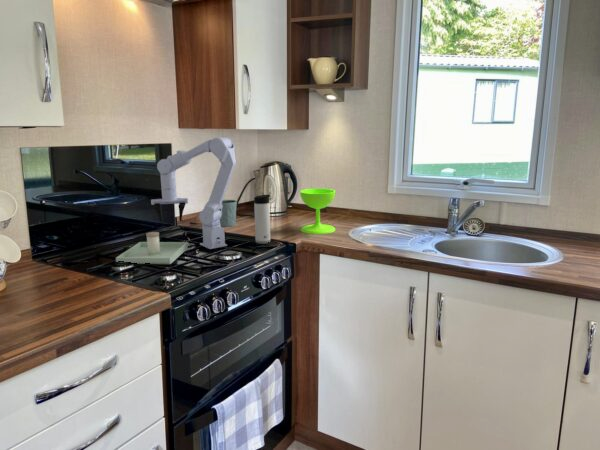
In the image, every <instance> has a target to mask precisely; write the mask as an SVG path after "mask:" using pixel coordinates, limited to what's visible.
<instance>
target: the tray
mask: <svg viewBox="0 0 600 450" xmlns="http://www.w3.org/2000/svg"><path fill="white" fill-rule="evenodd" d="M159 242H160V254H158V255H149V254H148V244H147V241H139V242H137V243H136V244H135V245H133V246H131V247H130V248H128V249H126V251H123V252H122V253H121V254H119V255H118V256H116V257H115V263H116V262H118V261H124V262H131V263H137V264H136V265H145V263H150V264H149V265H172V263H174V261H176V260H177V259H178V258H179V257H180V256H181V255H182V254H183V253H184V252H186V251H187V250H188V249H187V247H188V246H189V242H187V241H186V242H185V241H182V242H181V241H166V242H165V241H159ZM186 249H187V250H186Z"/></svg>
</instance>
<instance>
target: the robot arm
mask: <svg viewBox="0 0 600 450" xmlns="http://www.w3.org/2000/svg"><path fill="white" fill-rule="evenodd" d="M235 148H236V147H235V144H234V143H233V141H232V139H231V138H229V137H227V136H222V137H214V138H212V139H209V140H206V141H204V142H202V143H200V144H198V145H196V146H195V147H193V148H191V149H189V150H188V151H186V150H183V149H182V150H181V149H180V150H179V149H178V150H177V151H176V153H174V154H172V155H168V156H167V158H161V159H160V160H159V161H158V162H157V165H156V169H157V170H158V172H159V174H160V185H161V187H160V188H161V197H162V198H156V199H153V198H152V199H150V203H151V205H153V208H154V210H155V211H156V213H157V215H158V218H159V222H160V223H163V221H164V217H163V207H162V206H163V205H171V204H172V205H173V204H174V205H175V204H177V205H178V212H179V213H178V214H179V217H178V218H179V222H182V220H183V213H184V210H185V207H186V204H189V198H188V197H186V198H185V197H184V198H181V197H177V183H176V171H177V170H179V169H181V168H183V167H184V166H185V167H186V166H187V165H189V164H191V161H192V159H194V158H196V157H198V156H200V155H202V154H204V153H212V154H213V155H214V156H215V157H216V158H217V159H218V161H219V162H220V168H219V171H218V173H217V176H216V179H215V181H214V185H213V188H212V190H211V192H210V196H209V198H208V201H207V202H206V203H205V205H204V207H203V209H201V211H200V213H199V214H198V219H199V221H200V223H201V227H202V242H200V243H199V245H200V246H202V247H205V248H206V249H209V250H212V249H218V248H223V247H227V246H228V244H227V243H226V239H225V238H226V237H225V236H226V235H225V230H224V229H225V228H222V227H221V226H220V218H221V217H222V207H223V205H222V201H223V200H224V198H225V195H226V192H227V190H228V188H229V187H228V186H229V185H230V181H231V179H232V176H233V173H234V170H235V167H236V163H237V161H236V160H237V159H236V154H235Z"/></svg>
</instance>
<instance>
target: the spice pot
mask: <svg viewBox="0 0 600 450" xmlns="http://www.w3.org/2000/svg"><path fill="white" fill-rule="evenodd" d="M145 234H146V235H145V236H146V242H147V244H148V254H149V255H158V254H160V242H161V241H160V232H158V231H150V232H146V233H145Z"/></svg>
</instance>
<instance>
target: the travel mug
mask: <svg viewBox="0 0 600 450" xmlns="http://www.w3.org/2000/svg"><path fill="white" fill-rule="evenodd" d="M270 197H271V194H261V195H256V196H254V197H253V200H254V201H253V203H254V205H253V206H254V207H253V208H254V209H253V210H254V229H255V230H254V233H255V234H254V235H255V236H254V237H255V243H256V244H260V245H262V244H264V245H265V244H269V243H271V212H270V210H271V209H270ZM268 242H269V243H268Z"/></svg>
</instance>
